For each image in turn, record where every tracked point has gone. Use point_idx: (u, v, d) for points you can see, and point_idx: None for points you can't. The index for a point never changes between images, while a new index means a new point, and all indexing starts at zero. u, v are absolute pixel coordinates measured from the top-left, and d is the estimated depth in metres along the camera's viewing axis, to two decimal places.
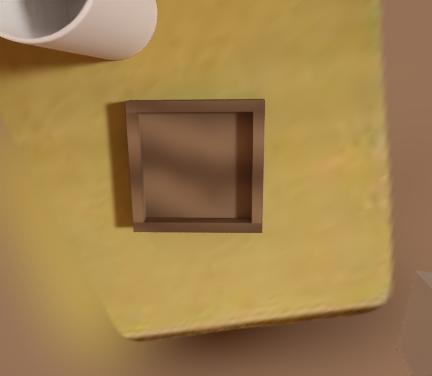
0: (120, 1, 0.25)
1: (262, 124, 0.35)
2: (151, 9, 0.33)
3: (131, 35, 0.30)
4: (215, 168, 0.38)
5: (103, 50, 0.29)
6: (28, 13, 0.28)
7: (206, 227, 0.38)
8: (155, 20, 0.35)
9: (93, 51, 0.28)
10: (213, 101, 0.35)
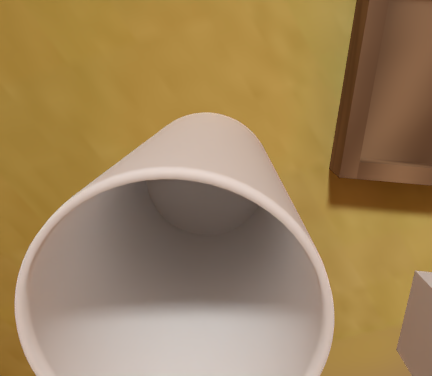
0: (235, 150, 0.13)
1: None
2: (214, 116, 0.22)
3: (260, 148, 0.19)
4: None
5: None
6: (219, 298, 0.18)
7: None
8: (224, 116, 0.24)
9: None
10: (365, 31, 0.21)
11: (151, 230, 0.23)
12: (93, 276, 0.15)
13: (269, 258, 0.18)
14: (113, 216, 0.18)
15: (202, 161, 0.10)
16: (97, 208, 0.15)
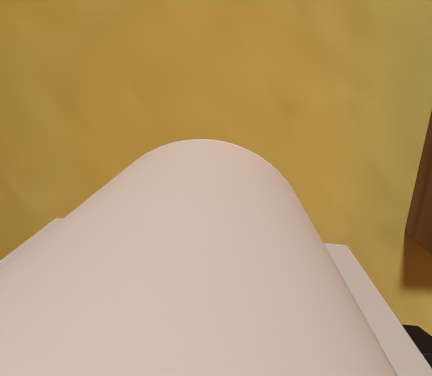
0: (282, 369, 0.03)
1: None
2: (213, 151, 0.12)
3: (309, 230, 0.09)
4: None
5: None
6: None
7: None
8: (232, 145, 0.14)
9: None
10: None
11: None
12: None
13: None
14: None
15: None
16: None
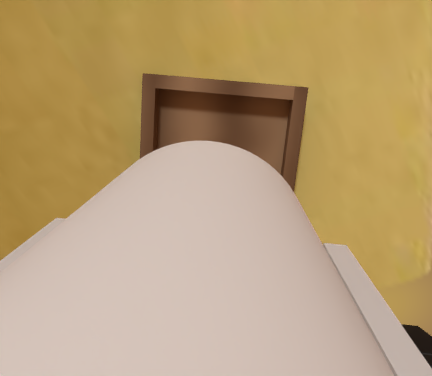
0: None
1: (170, 78, 0.30)
2: (213, 153, 0.12)
3: (309, 233, 0.09)
4: (223, 137, 0.32)
5: None
6: None
7: (291, 157, 0.31)
8: (232, 147, 0.14)
9: None
10: (141, 133, 0.31)
11: None
12: None
13: None
14: None
15: None
16: None
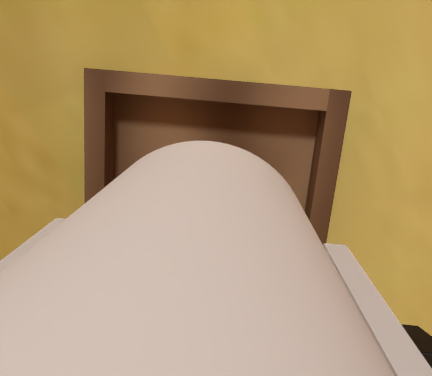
0: None
1: (129, 75, 0.18)
2: (213, 153, 0.12)
3: (309, 233, 0.09)
4: None
5: None
6: None
7: (322, 200, 0.20)
8: (232, 147, 0.14)
9: None
10: (86, 163, 0.20)
11: None
12: None
13: None
14: None
15: None
16: None
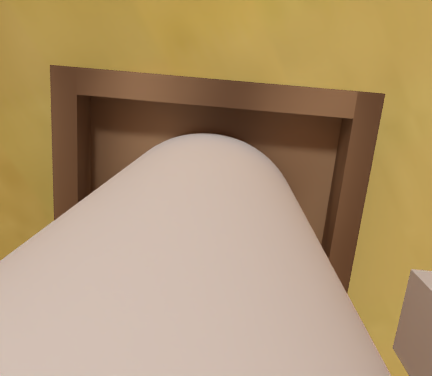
0: (255, 255, 0.05)
1: (106, 74, 0.15)
2: (214, 142, 0.14)
3: (291, 202, 0.11)
4: None
5: None
6: None
7: (346, 228, 0.16)
8: (230, 138, 0.16)
9: None
10: (55, 182, 0.16)
11: None
12: None
13: None
14: None
15: None
16: None
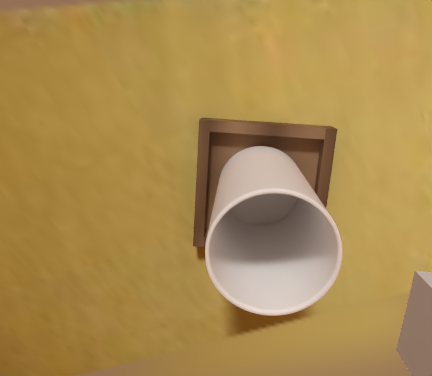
0: (292, 177, 0.27)
1: (222, 123, 0.36)
2: (268, 150, 0.35)
3: (299, 171, 0.32)
4: None
5: None
6: (278, 258, 0.32)
7: (323, 186, 0.37)
8: (272, 148, 0.37)
9: None
10: (197, 168, 0.37)
11: (229, 221, 0.36)
12: (216, 242, 0.28)
13: (306, 235, 0.32)
14: None
15: (284, 185, 0.24)
16: None
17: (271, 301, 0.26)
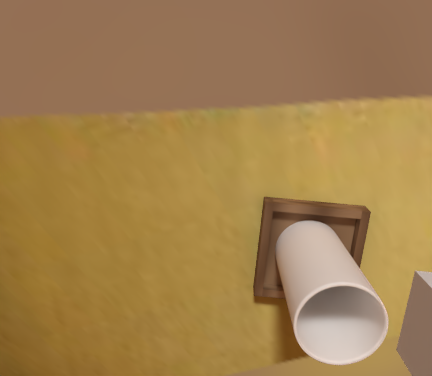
0: (349, 264, 0.38)
1: (283, 205, 0.47)
2: (318, 227, 0.46)
3: (346, 249, 0.43)
4: None
5: None
6: (329, 314, 0.43)
7: (358, 253, 0.48)
8: (319, 223, 0.48)
9: None
10: (261, 237, 0.48)
11: None
12: None
13: (351, 297, 0.43)
14: None
15: (349, 277, 0.35)
16: None
17: (334, 353, 0.37)
